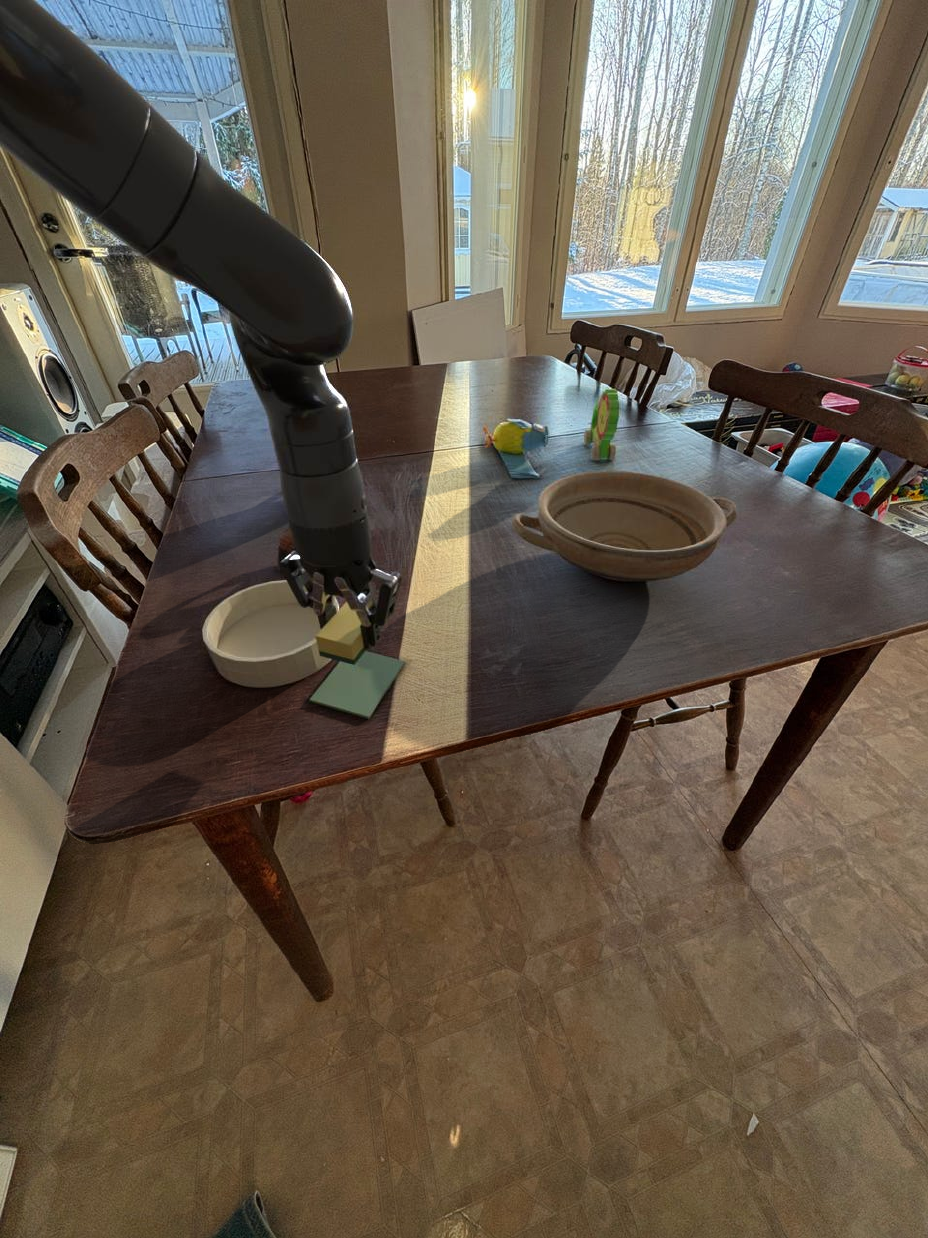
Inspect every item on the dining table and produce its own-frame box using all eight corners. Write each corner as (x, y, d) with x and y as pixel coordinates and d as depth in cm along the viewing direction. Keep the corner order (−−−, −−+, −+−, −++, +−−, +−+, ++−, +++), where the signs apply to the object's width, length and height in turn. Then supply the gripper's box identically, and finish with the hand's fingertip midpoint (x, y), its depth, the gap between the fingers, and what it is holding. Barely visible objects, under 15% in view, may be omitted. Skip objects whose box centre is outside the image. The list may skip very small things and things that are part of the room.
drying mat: (368, 719, 60) (368, 716, 59) (309, 701, 62) (309, 699, 61) (405, 663, 67) (404, 661, 67) (351, 649, 69) (351, 647, 69)
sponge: (354, 665, 57) (350, 645, 55) (319, 656, 58) (314, 636, 56) (383, 627, 62) (380, 608, 60) (350, 619, 63) (347, 600, 61)
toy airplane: (473, 402, 128) (532, 400, 130) (472, 437, 133) (528, 435, 135) (498, 441, 106) (568, 438, 108) (496, 480, 112) (562, 477, 114)
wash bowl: (297, 702, 62) (288, 675, 59) (184, 668, 66) (171, 642, 63) (365, 618, 74) (361, 593, 71) (267, 595, 79) (259, 570, 76)
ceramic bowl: (532, 624, 73) (539, 565, 67) (491, 529, 95) (493, 477, 89) (769, 598, 78) (795, 540, 71) (677, 513, 100) (691, 463, 93)
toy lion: (581, 442, 130) (590, 378, 121) (602, 442, 130) (613, 378, 121) (593, 466, 118) (604, 397, 109) (617, 466, 118) (630, 397, 109)
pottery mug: (267, 564, 87) (276, 516, 85) (321, 573, 92) (331, 528, 90) (284, 581, 77) (295, 528, 75) (343, 590, 82) (354, 540, 81)
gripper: (240, 512, 48) (281, 646, 59) (374, 537, 45) (393, 676, 55) (287, 481, 54) (317, 609, 65) (410, 501, 50) (420, 633, 61)
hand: (352, 639), depth 60 cm, fingers closed on sponge, 4 cm apart
